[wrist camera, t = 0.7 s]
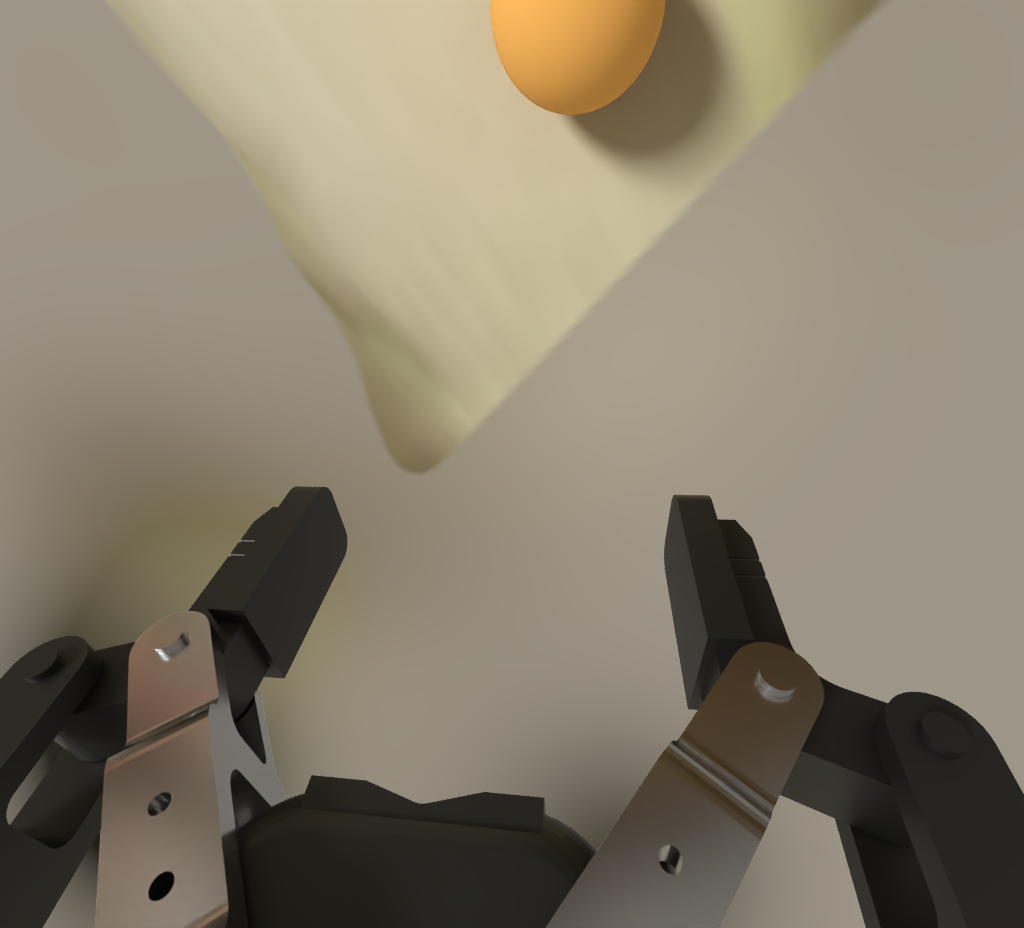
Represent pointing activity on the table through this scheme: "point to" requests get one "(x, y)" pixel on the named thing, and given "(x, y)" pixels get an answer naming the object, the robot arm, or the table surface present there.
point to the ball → (575, 48)
